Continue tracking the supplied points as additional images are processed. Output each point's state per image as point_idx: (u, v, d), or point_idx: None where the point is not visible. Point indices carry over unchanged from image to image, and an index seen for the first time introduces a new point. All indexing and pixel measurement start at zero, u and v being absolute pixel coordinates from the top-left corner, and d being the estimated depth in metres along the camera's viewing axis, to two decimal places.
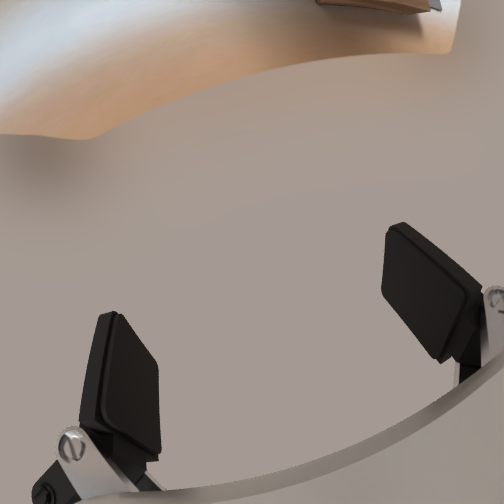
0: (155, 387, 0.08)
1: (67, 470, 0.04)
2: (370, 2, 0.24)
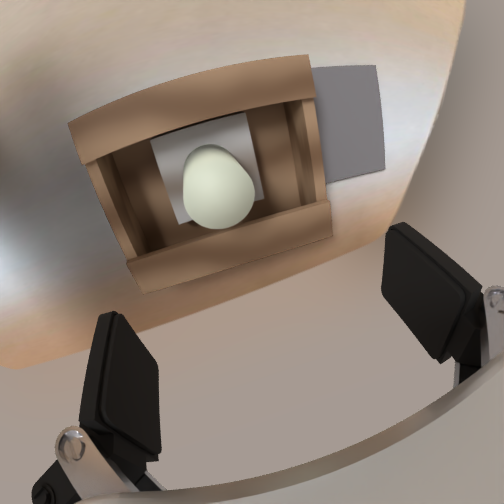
0: (155, 387, 0.08)
1: (67, 470, 0.04)
2: None
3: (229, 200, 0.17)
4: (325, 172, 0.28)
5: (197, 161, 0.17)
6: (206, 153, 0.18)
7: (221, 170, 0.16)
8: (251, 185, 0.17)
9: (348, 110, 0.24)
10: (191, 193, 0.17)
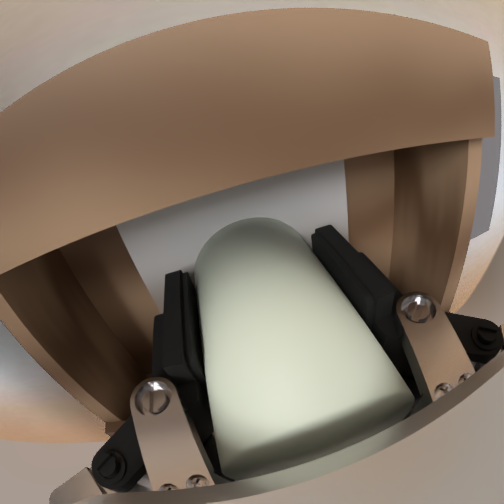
0: None
1: (137, 420, 0.05)
2: None
3: (346, 445, 0.05)
4: None
5: (254, 343, 0.05)
6: (272, 290, 0.06)
7: (354, 416, 0.04)
8: (407, 410, 0.05)
9: None
10: (246, 464, 0.04)
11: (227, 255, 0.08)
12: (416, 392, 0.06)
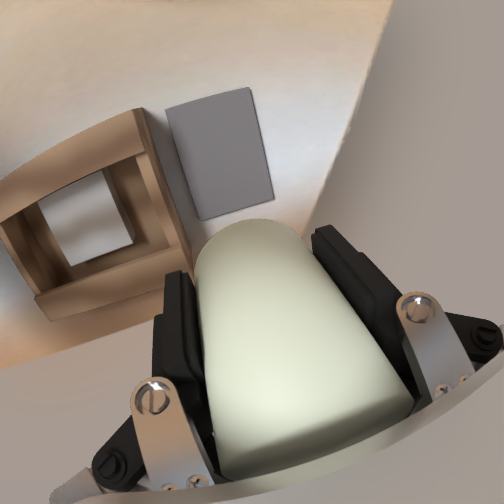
0: None
1: (137, 420, 0.05)
2: None
3: (345, 447, 0.05)
4: (198, 210, 0.28)
5: (253, 345, 0.05)
6: (272, 293, 0.06)
7: (353, 418, 0.04)
8: (406, 412, 0.05)
9: (216, 144, 0.25)
10: (246, 466, 0.04)
11: (227, 257, 0.08)
12: (417, 392, 0.06)
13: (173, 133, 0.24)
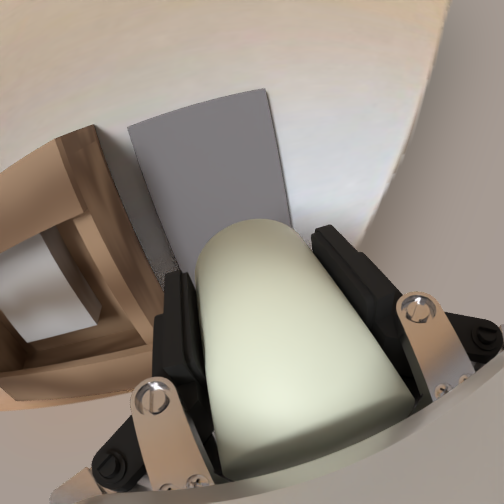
0: None
1: (137, 420, 0.05)
2: None
3: (346, 446, 0.05)
4: None
5: (255, 345, 0.05)
6: (273, 292, 0.06)
7: (354, 418, 0.04)
8: (407, 411, 0.05)
9: (211, 182, 0.16)
10: (247, 466, 0.04)
11: (228, 257, 0.08)
12: (416, 392, 0.06)
13: (142, 165, 0.15)
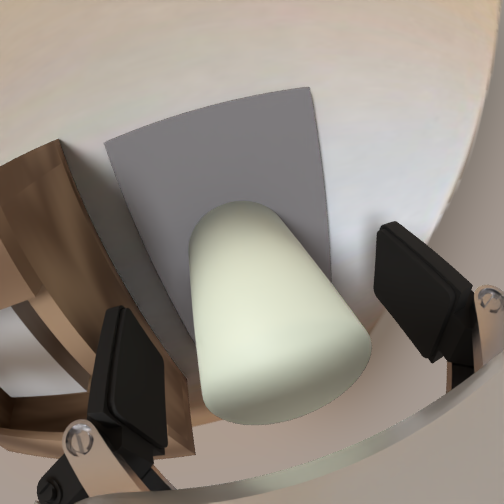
0: (161, 381, 0.09)
1: (74, 464, 0.04)
2: None
3: (313, 385, 0.07)
4: None
5: (233, 281, 0.07)
6: (250, 247, 0.08)
7: (312, 338, 0.06)
8: (367, 353, 0.07)
9: None
10: (223, 386, 0.06)
11: (216, 227, 0.10)
12: None
13: (128, 199, 0.10)
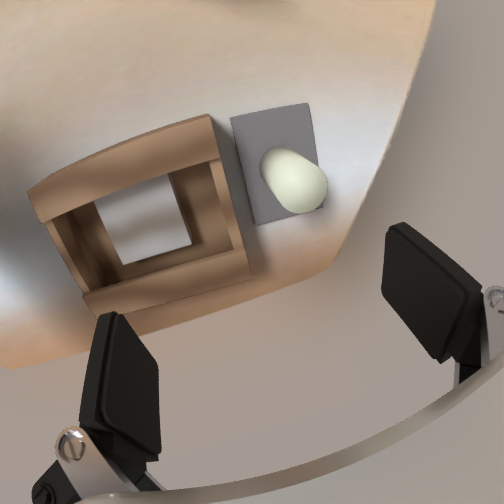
0: (155, 387, 0.08)
1: (67, 471, 0.04)
2: None
3: (309, 192, 0.23)
4: (255, 215, 0.31)
5: (286, 159, 0.23)
6: (290, 154, 0.24)
7: (308, 170, 0.22)
8: (326, 184, 0.23)
9: None
10: (284, 183, 0.22)
11: (275, 151, 0.26)
12: None
13: (237, 141, 0.26)
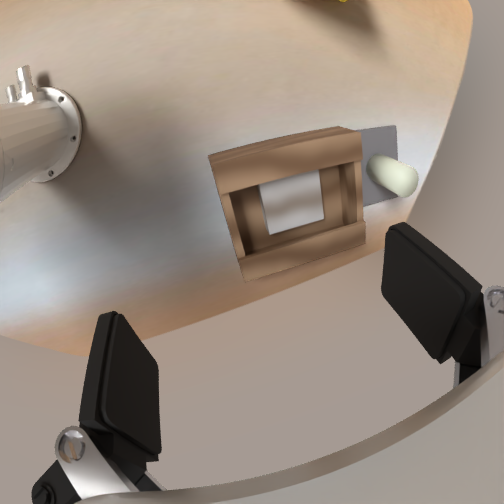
0: (155, 387, 0.08)
1: (67, 471, 0.04)
2: None
3: (409, 184, 0.33)
4: None
5: (396, 163, 0.33)
6: (394, 160, 0.34)
7: (411, 171, 0.32)
8: (417, 180, 0.33)
9: None
10: (399, 177, 0.32)
11: (381, 157, 0.36)
12: None
13: None
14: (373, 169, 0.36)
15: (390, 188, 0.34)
